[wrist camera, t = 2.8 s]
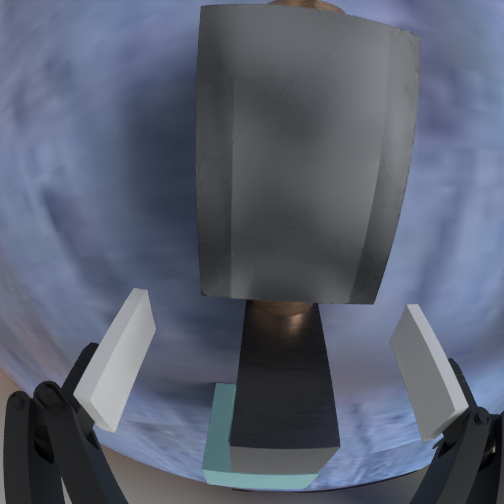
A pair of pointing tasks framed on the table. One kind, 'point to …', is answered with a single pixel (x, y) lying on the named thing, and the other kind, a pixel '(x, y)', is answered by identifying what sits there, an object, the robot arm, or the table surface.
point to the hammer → (283, 380)
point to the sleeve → (300, 151)
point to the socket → (219, 452)
